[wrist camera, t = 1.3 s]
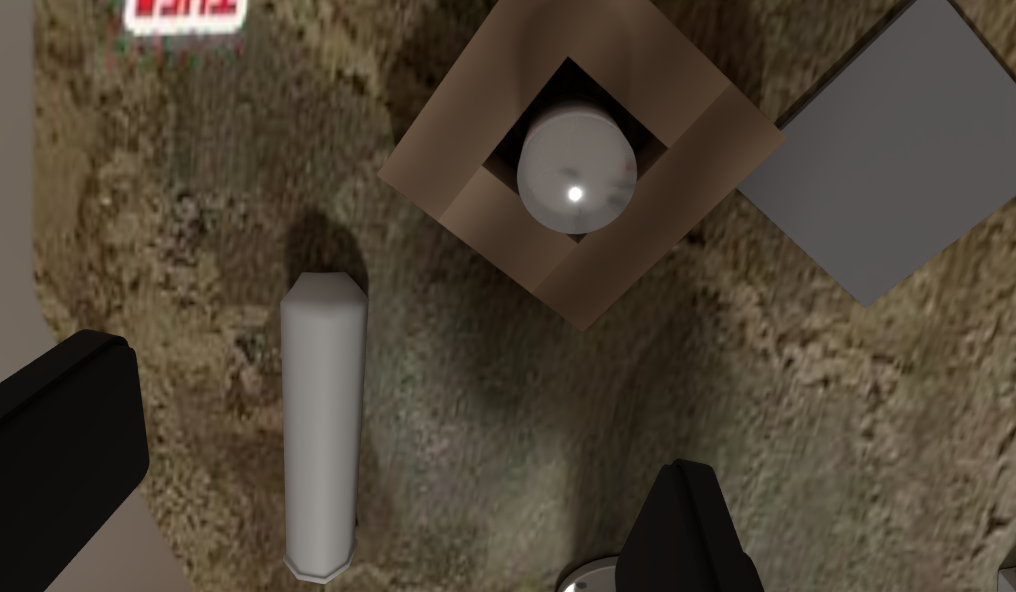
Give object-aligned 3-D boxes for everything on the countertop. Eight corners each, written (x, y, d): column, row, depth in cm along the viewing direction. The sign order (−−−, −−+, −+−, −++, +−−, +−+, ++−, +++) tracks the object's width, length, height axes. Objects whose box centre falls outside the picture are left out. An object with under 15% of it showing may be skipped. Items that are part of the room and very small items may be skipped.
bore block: (758, 123, 29) (787, 137, 25) (579, 300, 34) (582, 332, 31) (559, -73, 25) (560, -89, 22) (397, 157, 31) (376, 174, 27)
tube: (257, 276, 31) (270, 563, 42) (333, 305, 29) (326, 596, 40) (320, 249, 35) (317, 515, 47) (389, 274, 34) (369, 542, 45)
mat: (1064, 150, 28) (1072, 152, 28) (861, 304, 33) (865, 308, 32) (927, -16, 25) (933, -17, 25) (726, 178, 30) (729, 181, 30)
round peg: (636, 135, 29) (662, 170, 22) (574, 203, 31) (580, 255, 24) (567, 72, 28) (571, 88, 21) (507, 147, 30) (493, 184, 23)
